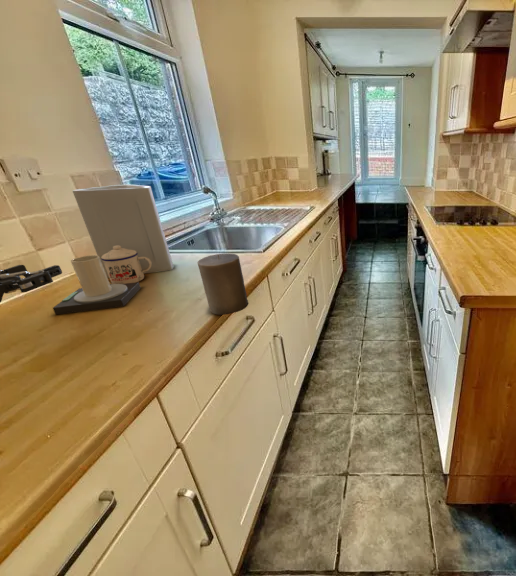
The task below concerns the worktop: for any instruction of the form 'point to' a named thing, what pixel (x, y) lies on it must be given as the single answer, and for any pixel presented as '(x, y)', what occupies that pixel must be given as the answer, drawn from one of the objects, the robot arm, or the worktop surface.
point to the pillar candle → (223, 283)
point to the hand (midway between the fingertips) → (41, 268)
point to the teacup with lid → (124, 265)
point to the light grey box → (125, 223)
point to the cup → (91, 275)
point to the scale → (97, 299)
